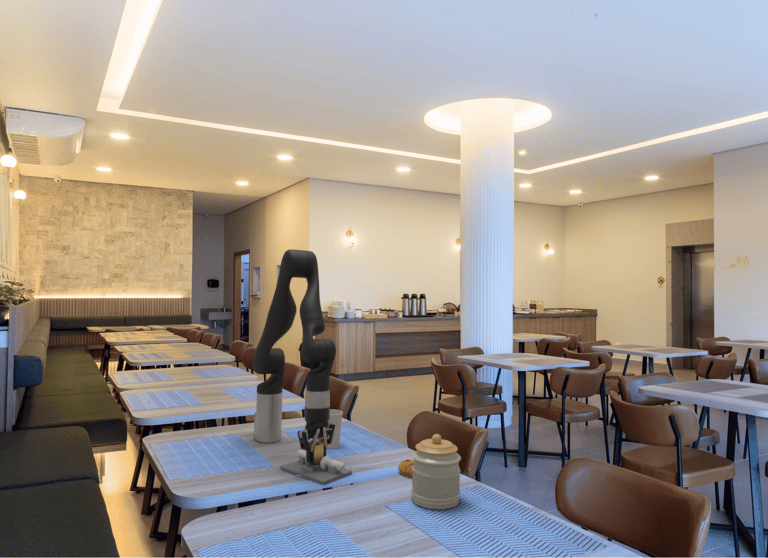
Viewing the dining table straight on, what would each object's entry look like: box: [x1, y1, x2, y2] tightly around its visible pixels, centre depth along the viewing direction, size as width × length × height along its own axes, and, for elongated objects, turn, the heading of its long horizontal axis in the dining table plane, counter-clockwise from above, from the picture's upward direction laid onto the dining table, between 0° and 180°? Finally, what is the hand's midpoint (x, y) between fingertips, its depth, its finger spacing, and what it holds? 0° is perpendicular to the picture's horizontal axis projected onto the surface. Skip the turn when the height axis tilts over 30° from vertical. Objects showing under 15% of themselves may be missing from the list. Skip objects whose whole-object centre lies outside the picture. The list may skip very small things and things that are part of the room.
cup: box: [326, 409, 344, 450], centre depth 190 cm, size 8×8×12 cm
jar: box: [410, 433, 462, 510], centre depth 144 cm, size 13×13×18 cm
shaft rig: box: [279, 449, 353, 486], centre depth 163 cm, size 19×12×5 cm, turn 51°
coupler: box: [309, 439, 324, 466], centre depth 163 cm, size 4×4×7 cm
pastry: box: [397, 458, 414, 480], centre depth 163 cm, size 9×7×4 cm
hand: (316, 460), depth 163 cm, fingers closed on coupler, 4 cm apart
